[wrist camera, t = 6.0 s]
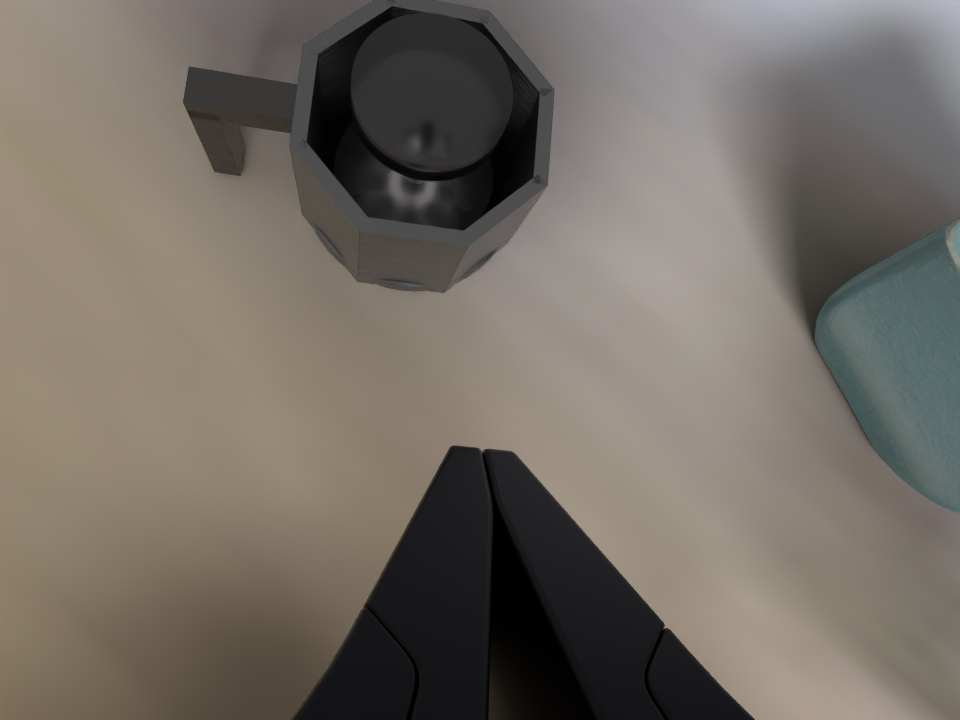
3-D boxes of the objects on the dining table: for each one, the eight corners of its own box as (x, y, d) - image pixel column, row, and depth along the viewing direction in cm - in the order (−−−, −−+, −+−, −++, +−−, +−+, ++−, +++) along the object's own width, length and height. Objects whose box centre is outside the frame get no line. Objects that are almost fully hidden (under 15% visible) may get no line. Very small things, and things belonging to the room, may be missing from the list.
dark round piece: (483, 264, 23) (525, 199, 18) (325, 243, 22) (317, 167, 17) (495, 120, 24) (539, 15, 18) (344, 95, 23) (341, -24, 18)
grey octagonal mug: (505, 303, 24) (545, 260, 19) (202, 265, 22) (160, 207, 17) (521, 109, 25) (562, 22, 20) (233, 59, 23) (203, -48, 19)
